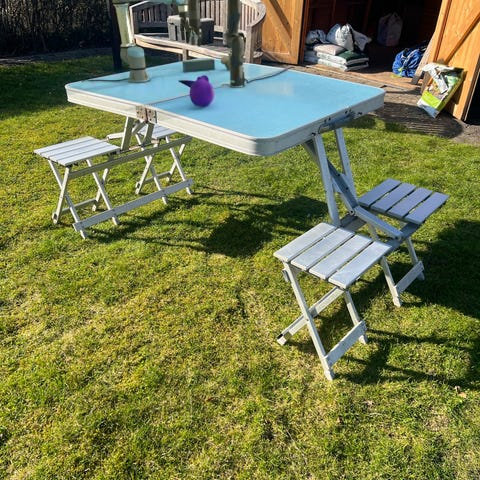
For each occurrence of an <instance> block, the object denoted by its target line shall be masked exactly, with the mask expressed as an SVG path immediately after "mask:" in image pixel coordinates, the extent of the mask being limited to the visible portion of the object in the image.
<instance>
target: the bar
mask: <svg viewBox="0 0 480 480" xmlns="http://www.w3.org/2000/svg"><path fill="white" fill-rule="evenodd" d="M215 64H216V63H215V59H214V58H205V59H203V58H202V59H193V60H192V59H191V60H183V61H182V71H183V72H184V73H194V72H204V71H205V72H207V71H215V70H216V65H215Z"/></svg>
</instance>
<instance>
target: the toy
mask: <svg viewBox="0 0 480 480" xmlns="http://www.w3.org/2000/svg"><path fill="white" fill-rule="evenodd" d="M209 81H210V80H209V77H208V76H207V75H206V74H204V75H200V76H198V77H196V80H190V79H189V80H187V79H186V80H185V79H179V80H178V83H179V84H182V85H184V86H185V87H188V88H190V89H189V99H190V101H191V103H192V104H193V105H194V106H196V107H199V108H206V107H209V105H211V104H212V102H213V101H214V99H215V97H216V96H215V95H216V94H215V88H214V85H213V84H212V83H211V82H209Z"/></svg>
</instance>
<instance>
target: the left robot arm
mask: <svg viewBox="0 0 480 480" xmlns="http://www.w3.org/2000/svg"><path fill="white" fill-rule="evenodd" d="M138 1H139V0H112V6H114V7H115V11H116V17H117V23H118V28H119V33H120V39H121V44H120V59H121V60H122V61H123V62H124V63H125V64H127V65H128V66H129V76H128V78H127V77H126V78H122V79H83V80H82V83H84V82H86V81H88V82H122V81H128V82H129V83H133V84H141V83H148V82H150V75H149V74H148V71H147V67H146V59H145V52H144V51H145V50H144V49H143V48H142V47H140V46H137V43H135V41H134V36H133V35H134V34H133V30H132V23H131V17H130V11H129V5H130V2H138ZM141 1H142V2H152V3H155V2H156V3H163V4H165V5H177V9H178V18H179V31H180V37H181V41H182V42H183V41H184V42H186V43H191V39H190V38H189V28H190V26H189V18H188V1H189V0H141ZM83 81H84V82H83ZM88 130H90V128H88Z"/></svg>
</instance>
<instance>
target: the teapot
mask: <svg viewBox="0 0 480 480" xmlns="http://www.w3.org/2000/svg"><path fill="white" fill-rule="evenodd" d="M227 55H228V56H223V57H221V59H220V63H221V64H222V65H224V67H225V68H226V70H229V71H230V56H231V55H232V49H231V50H229V53H228V54H227ZM244 60H245V57H243V62H244Z"/></svg>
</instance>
